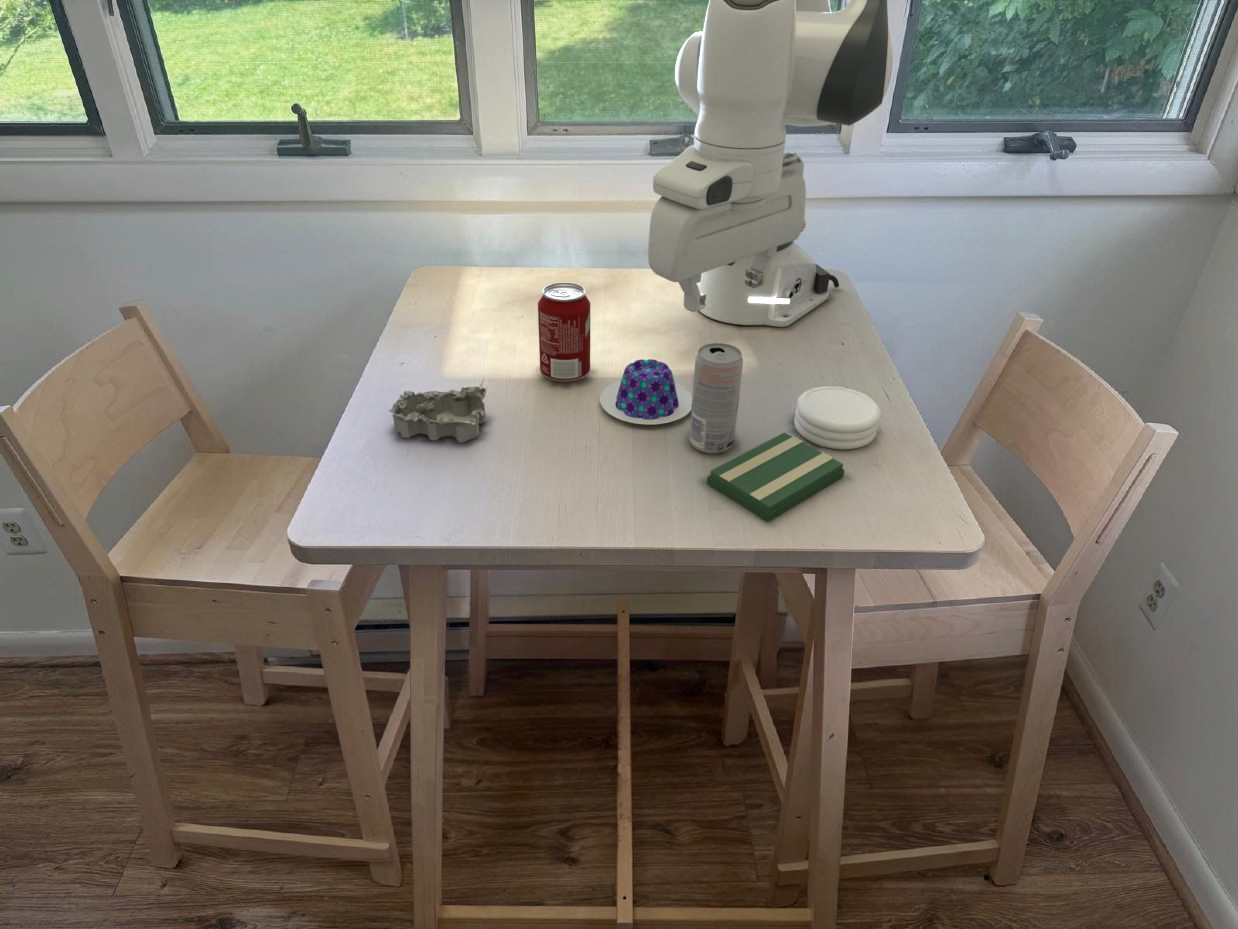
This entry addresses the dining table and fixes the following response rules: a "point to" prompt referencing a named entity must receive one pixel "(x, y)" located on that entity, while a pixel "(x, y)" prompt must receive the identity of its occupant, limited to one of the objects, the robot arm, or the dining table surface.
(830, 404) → the coaster
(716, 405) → the energy drink
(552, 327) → the soda can
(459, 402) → the egg carton
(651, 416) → the pudding
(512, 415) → the dining table surface
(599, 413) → the dining table surface
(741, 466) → the tea towel
